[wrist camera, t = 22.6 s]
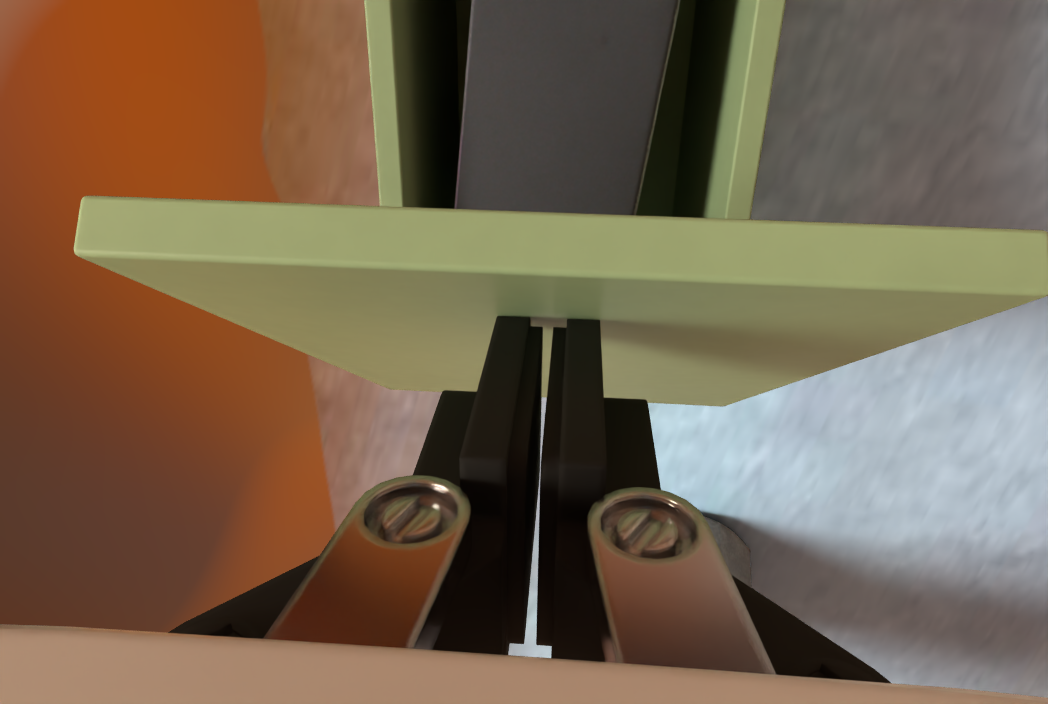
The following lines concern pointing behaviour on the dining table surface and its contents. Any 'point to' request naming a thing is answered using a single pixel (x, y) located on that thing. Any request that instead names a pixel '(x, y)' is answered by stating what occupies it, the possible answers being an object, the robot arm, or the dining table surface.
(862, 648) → the dining table surface
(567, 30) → the small box
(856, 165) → the dining table surface
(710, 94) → the chest
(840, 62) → the dining table surface
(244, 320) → the lid
